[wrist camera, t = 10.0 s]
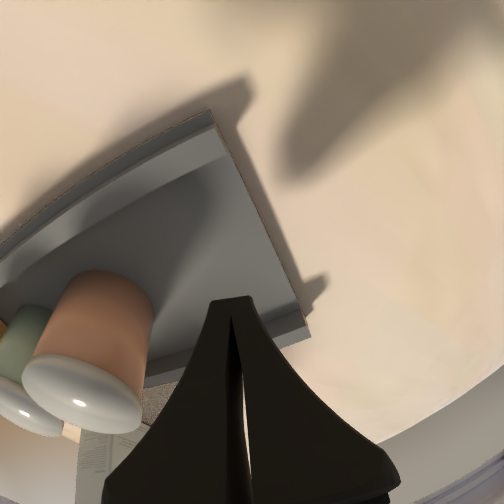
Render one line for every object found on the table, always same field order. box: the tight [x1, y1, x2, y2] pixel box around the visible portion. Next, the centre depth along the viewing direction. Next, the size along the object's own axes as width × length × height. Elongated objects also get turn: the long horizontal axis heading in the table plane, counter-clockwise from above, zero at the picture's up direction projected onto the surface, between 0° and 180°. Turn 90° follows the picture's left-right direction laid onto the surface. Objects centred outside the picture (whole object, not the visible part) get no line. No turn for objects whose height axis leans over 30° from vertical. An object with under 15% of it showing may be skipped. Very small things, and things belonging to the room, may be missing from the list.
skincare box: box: [75, 423, 150, 504], centre depth 17 cm, size 8×6×15 cm
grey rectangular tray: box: [0, 109, 311, 389], centre depth 13 cm, size 12×26×4 cm, turn 113°
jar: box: [22, 270, 154, 434], centre depth 12 cm, size 5×5×6 cm
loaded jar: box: [0, 305, 64, 437], centre depth 12 cm, size 5×5×6 cm
